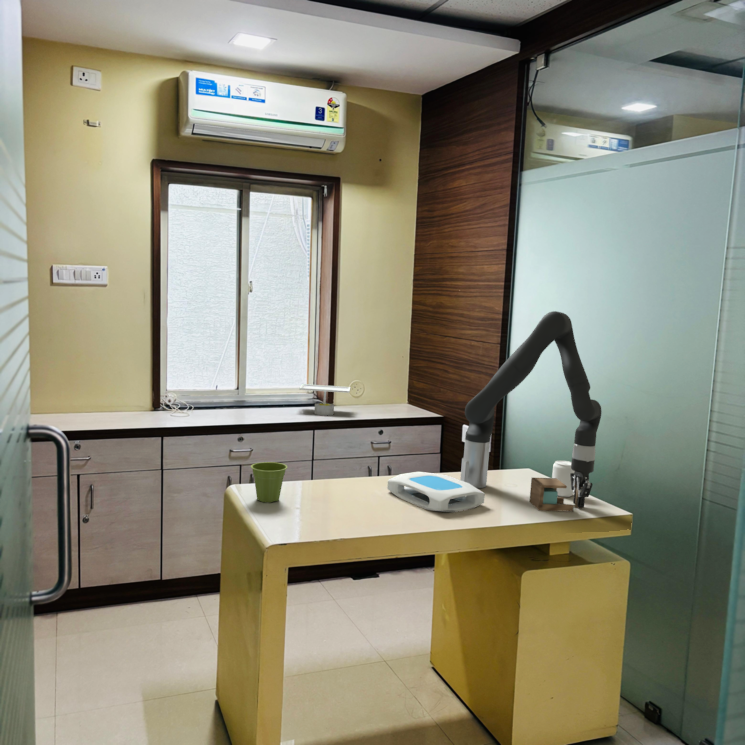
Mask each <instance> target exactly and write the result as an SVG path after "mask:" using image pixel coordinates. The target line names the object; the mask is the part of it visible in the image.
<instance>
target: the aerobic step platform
mask: <svg viewBox="0 0 745 745" xmlns="http://www.w3.org/2000/svg"><path fill="white" fill-rule="evenodd" d="M386 488H387V490H388V491H389V492H390V493H391V494H393V495H394V496H396V497H397V498H398V499H401V500H403V501H405V502H408V503H409V504H412V505H414V506H417V507H419V508H422V509H424V510H426V511H434V512H443V513H458V511H459V512H463V510H464V511H469V510H473V509H475V508H476V507H478V506H481V505H482V504H484V503H485V498H486V496H485V495H486V494H485V492H483V491H482V490H480V488H475V487H474V486H472V485H471V484H469V483H467V482H464V481H461V480H460V479H458V478H455V477H453V476H450V475H446V474H441V473H433V472H425V471H413V472H406V473H400V474H397V475H395V476H394V477H391V478H389V479H387V487H386ZM417 493H420V494H423V495H425V496H427V497H428V499H429V502H428V501H426V500H424V499H421V498H418V497H417V496H415V495H414V494H417ZM452 499H453V500H455V501H456V502H453V503H450V500H452ZM468 509H469V510H468Z"/></svg>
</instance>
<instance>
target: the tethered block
mask: <svg viewBox="0 0 745 745" xmlns="http://www.w3.org/2000/svg"><path fill="white" fill-rule="evenodd" d="M580 488H583V487H580ZM581 492H582V491H581ZM557 495H558V492H557V491H556V490H555V489H553V488H544V496H543V504H557V497H558V496H557ZM577 502H578V490H577V489H576V499H575V504H572V505H573V508H575V509H580V508H579V507H577Z"/></svg>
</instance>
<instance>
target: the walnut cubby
mask: <svg viewBox="0 0 745 745" xmlns="http://www.w3.org/2000/svg"><path fill="white" fill-rule="evenodd" d="M530 482H531V483H530V492H529V503H530V504H531V505H532V506H534V508H535V509H536V510H538V511H545V512H549V511H550V512H551V511H552V512H574V511H573V510H574V507H573V505H574V504H566V503H565V504H564V502H565V497H560V496H557V504H543V496H544V488H553V489H555V490H556V491H557V488H567V486H566V485H565V484H563V483H562V482H561V481H559V480H558V479H557V478H552V477H551V478H550V477H531V480H530Z"/></svg>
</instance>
